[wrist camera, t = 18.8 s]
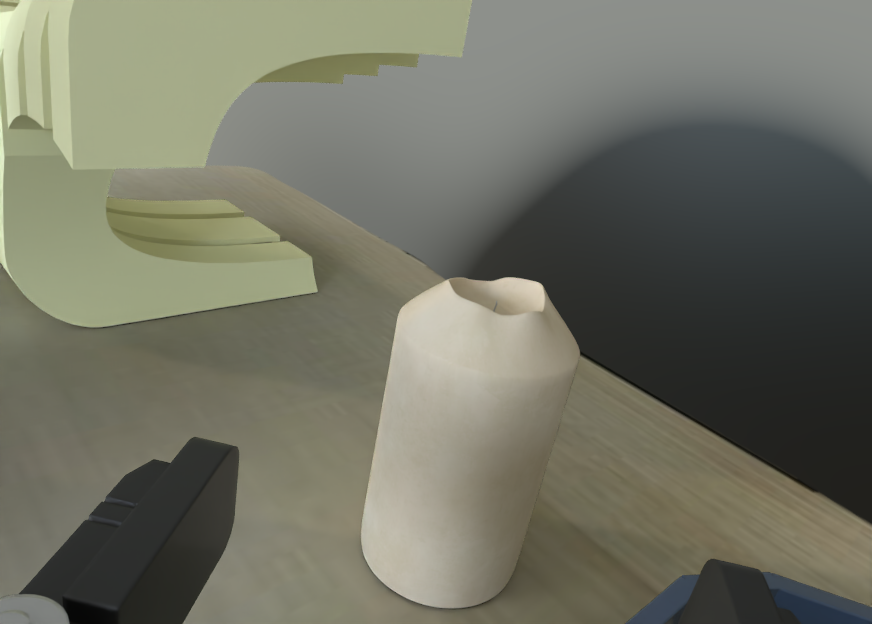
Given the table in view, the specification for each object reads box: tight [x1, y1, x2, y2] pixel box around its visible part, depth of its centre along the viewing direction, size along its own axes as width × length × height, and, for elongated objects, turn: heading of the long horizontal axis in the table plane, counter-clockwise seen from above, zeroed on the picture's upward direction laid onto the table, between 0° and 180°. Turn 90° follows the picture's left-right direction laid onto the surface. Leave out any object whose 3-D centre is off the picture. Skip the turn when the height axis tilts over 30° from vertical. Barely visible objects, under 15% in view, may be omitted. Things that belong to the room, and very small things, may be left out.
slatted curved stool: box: [0, 0, 472, 328], centre depth 37 cm, size 30×16×18 cm, turn 43°
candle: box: [361, 277, 580, 608], centre depth 22 cm, size 6×6×10 cm
